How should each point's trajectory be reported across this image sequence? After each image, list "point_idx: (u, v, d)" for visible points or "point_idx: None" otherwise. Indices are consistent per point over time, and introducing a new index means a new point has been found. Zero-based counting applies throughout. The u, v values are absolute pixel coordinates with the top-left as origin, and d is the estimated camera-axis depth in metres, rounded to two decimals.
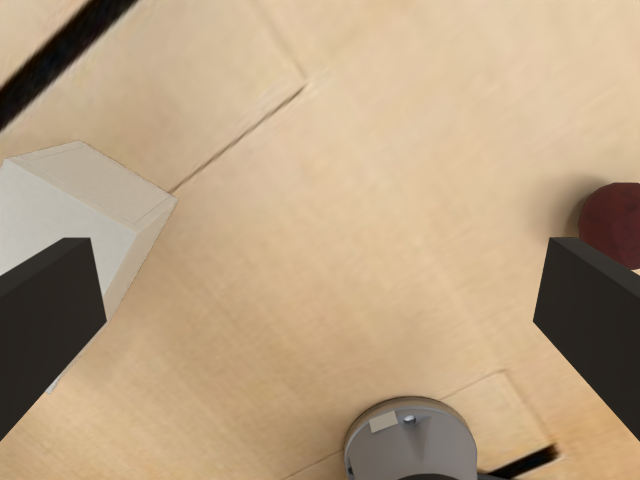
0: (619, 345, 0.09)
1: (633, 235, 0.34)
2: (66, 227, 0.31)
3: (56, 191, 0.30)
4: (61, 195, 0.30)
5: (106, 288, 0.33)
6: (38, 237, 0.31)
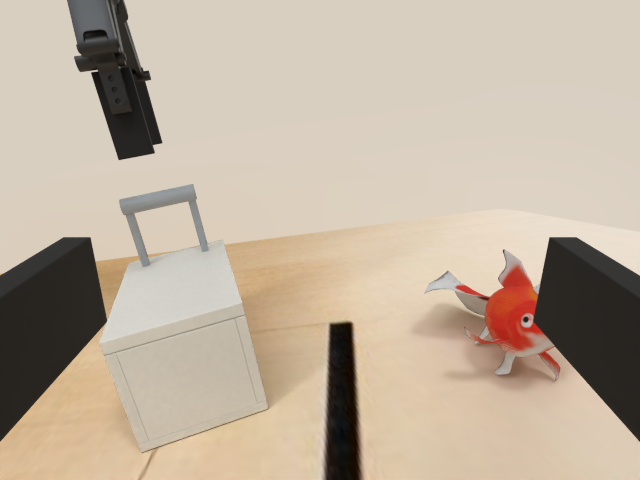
0: (619, 345, 0.09)
1: None
2: (167, 309, 0.32)
3: (189, 315, 0.31)
4: (183, 317, 0.31)
5: (111, 309, 0.34)
6: (186, 294, 0.34)
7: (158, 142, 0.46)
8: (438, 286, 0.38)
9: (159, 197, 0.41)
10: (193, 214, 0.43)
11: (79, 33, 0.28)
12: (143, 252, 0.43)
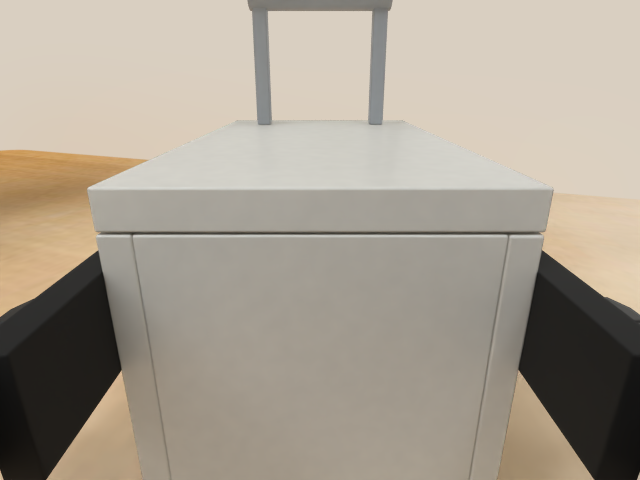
0: (530, 320, 0.10)
1: None
2: (301, 166, 0.11)
3: (371, 184, 0.09)
4: (353, 184, 0.09)
5: (171, 150, 0.14)
6: (350, 155, 0.13)
7: None
8: None
9: None
10: (375, 40, 0.21)
11: None
12: (266, 97, 0.22)
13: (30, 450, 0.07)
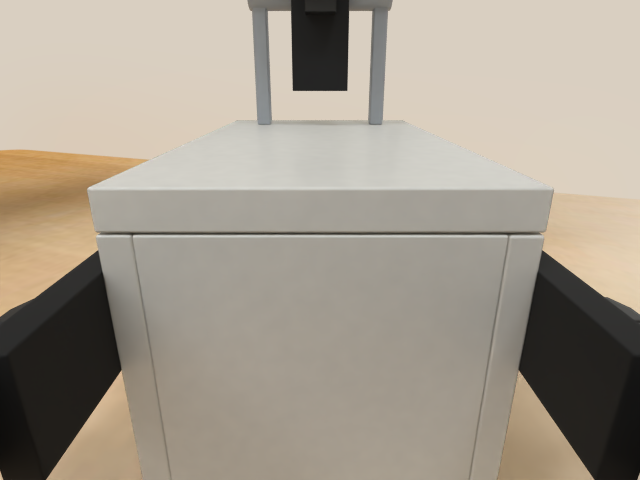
0: (530, 320, 0.10)
1: None
2: (301, 166, 0.11)
3: (372, 184, 0.09)
4: (353, 184, 0.09)
5: (171, 150, 0.14)
6: (350, 155, 0.13)
7: None
8: None
9: None
10: (375, 40, 0.21)
11: None
12: (266, 97, 0.22)
13: (30, 450, 0.07)
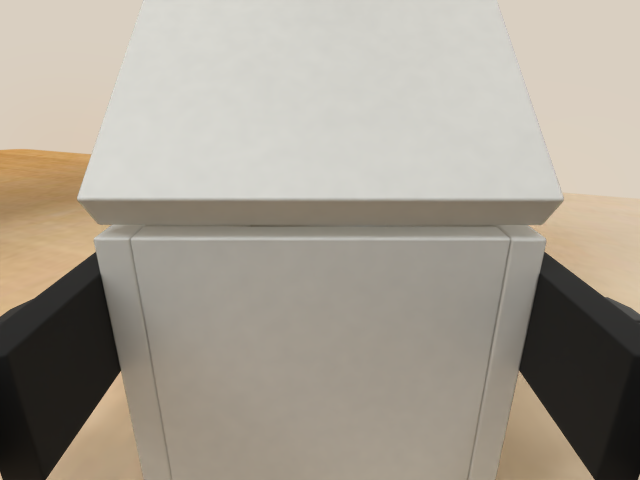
0: (530, 320, 0.10)
1: None
2: (298, 112, 0.10)
3: (375, 190, 0.09)
4: (356, 186, 0.09)
5: (134, 31, 0.11)
6: (357, 58, 0.11)
7: None
8: None
9: None
10: None
11: None
12: None
13: (29, 450, 0.07)
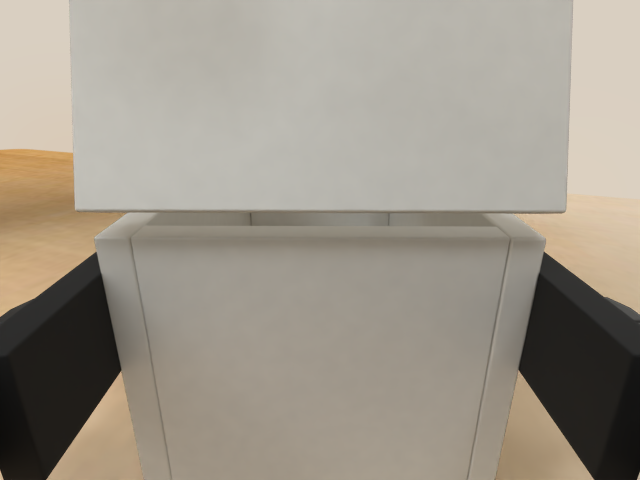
0: (530, 320, 0.10)
1: None
2: (295, 90, 0.08)
3: (376, 200, 0.09)
4: (356, 195, 0.09)
5: None
6: None
7: None
8: None
9: None
10: None
11: None
12: None
13: (30, 450, 0.07)
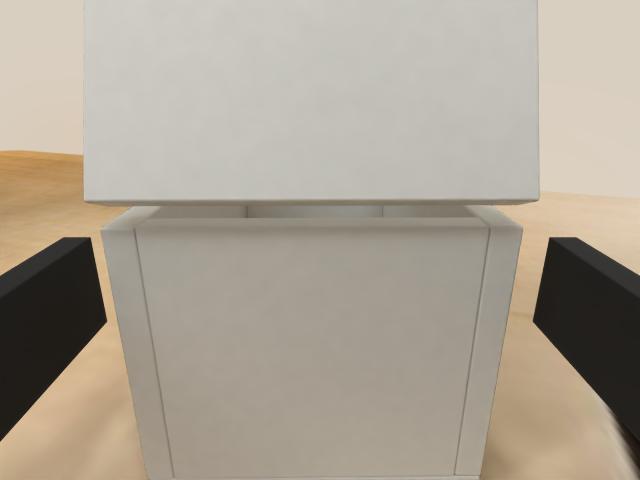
0: (619, 345, 0.09)
1: None
2: (289, 90, 0.09)
3: (363, 190, 0.09)
4: (346, 186, 0.09)
5: None
6: (355, 4, 0.09)
7: None
8: None
9: None
10: None
11: None
12: None
13: None
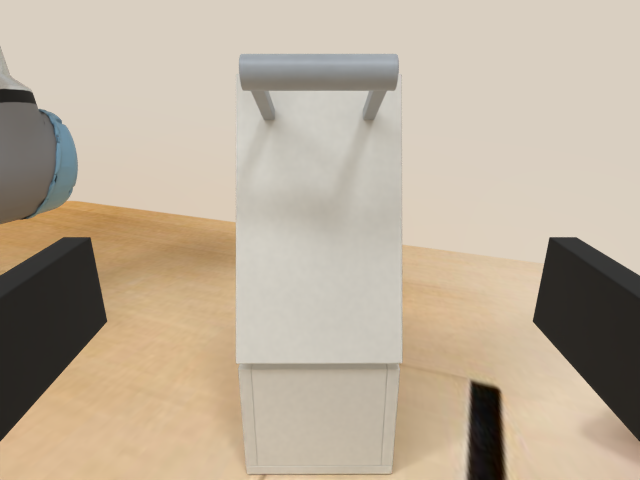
0: (619, 345, 0.09)
1: None
2: (310, 323, 0.26)
3: (337, 359, 0.26)
4: (331, 358, 0.26)
5: (237, 273, 0.26)
6: (334, 291, 0.26)
7: None
8: None
9: (322, 86, 0.19)
10: (374, 96, 0.22)
11: None
12: (269, 112, 0.24)
13: None
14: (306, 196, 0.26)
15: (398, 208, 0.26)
